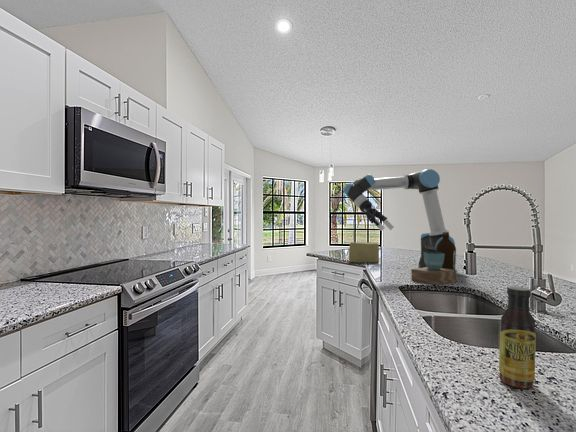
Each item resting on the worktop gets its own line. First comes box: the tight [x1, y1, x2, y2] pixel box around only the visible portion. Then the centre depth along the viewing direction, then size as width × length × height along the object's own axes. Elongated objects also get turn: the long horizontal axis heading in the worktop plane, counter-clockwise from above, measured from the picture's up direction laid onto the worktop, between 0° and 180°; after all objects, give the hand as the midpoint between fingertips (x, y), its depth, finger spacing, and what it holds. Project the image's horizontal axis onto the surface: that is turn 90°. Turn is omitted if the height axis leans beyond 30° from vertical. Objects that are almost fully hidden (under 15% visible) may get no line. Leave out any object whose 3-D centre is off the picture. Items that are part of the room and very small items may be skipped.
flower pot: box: [423, 252, 445, 270], centre depth 185 cm, size 9×9×9 cm
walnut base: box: [410, 267, 458, 286], centre depth 185 cm, size 16×16×6 cm
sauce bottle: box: [498, 285, 537, 389], centre depth 72 cm, size 7×6×20 cm
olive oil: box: [436, 231, 457, 270], centre depth 200 cm, size 11×11×25 cm
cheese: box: [348, 242, 380, 263], centre depth 264 cm, size 22×10×15 cm, turn 78°
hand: (387, 228), depth 200 cm, fingers open, 13 cm apart
